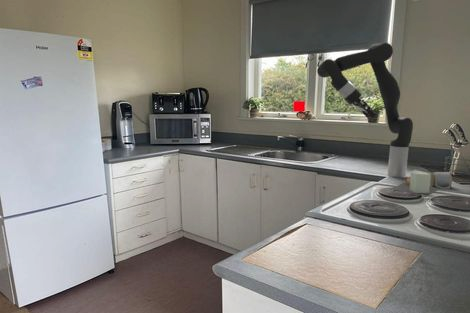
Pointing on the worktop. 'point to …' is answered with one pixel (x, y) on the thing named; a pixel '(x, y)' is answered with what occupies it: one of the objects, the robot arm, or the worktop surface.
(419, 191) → the pale green block
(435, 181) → the ceramic mug
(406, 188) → the mat
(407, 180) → the cube
